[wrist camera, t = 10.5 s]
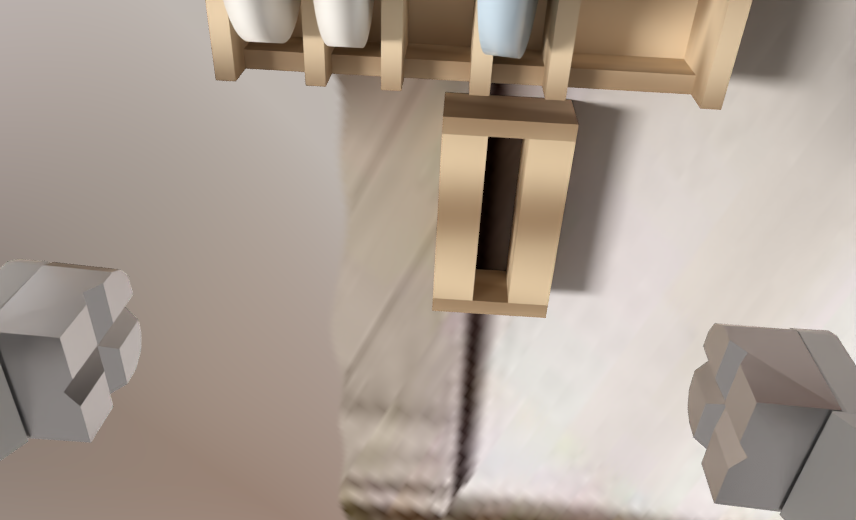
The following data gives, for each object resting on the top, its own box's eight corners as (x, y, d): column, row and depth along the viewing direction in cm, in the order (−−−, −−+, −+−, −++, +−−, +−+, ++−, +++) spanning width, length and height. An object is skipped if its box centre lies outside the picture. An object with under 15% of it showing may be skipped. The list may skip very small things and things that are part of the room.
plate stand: (541, 285, 39) (545, 317, 37) (434, 278, 39) (432, 310, 37) (571, 99, 33) (578, 124, 31) (445, 92, 33) (442, 116, 31)
